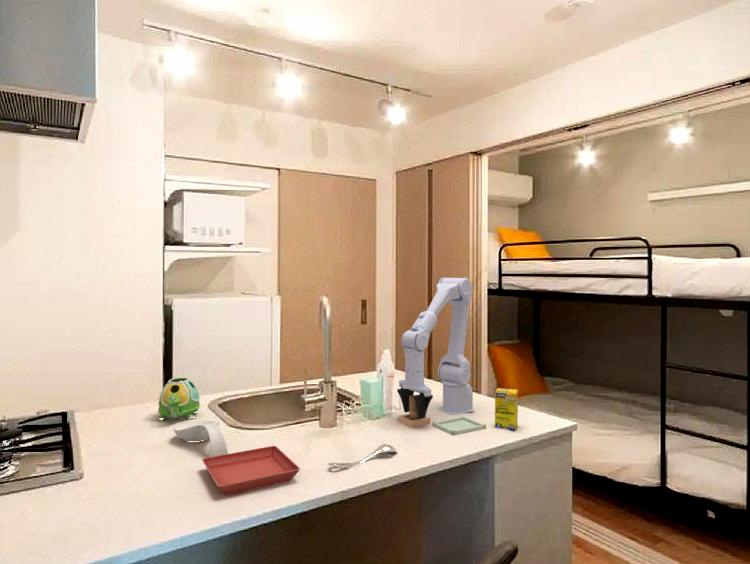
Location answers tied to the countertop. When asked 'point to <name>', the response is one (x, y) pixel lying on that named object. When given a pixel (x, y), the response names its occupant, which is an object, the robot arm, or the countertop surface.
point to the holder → (414, 421)
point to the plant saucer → (250, 469)
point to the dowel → (412, 408)
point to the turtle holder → (178, 399)
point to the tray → (458, 425)
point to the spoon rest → (204, 435)
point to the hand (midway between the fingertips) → (414, 414)
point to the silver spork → (380, 449)
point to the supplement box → (506, 408)
